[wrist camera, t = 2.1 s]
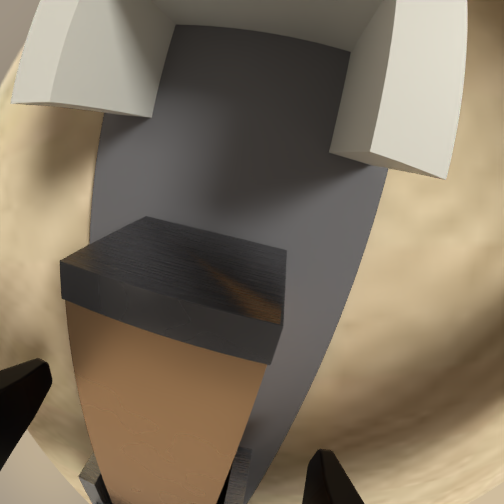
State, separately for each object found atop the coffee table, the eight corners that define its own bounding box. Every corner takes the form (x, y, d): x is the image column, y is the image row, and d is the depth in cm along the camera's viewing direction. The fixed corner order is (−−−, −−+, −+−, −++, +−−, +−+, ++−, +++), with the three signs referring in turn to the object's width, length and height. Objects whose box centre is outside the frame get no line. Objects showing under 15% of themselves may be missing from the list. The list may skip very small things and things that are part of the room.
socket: (395, 45, 6) (466, -21, 2) (371, 165, 8) (445, 180, 4) (146, 6, 7) (67, -55, 3) (117, 114, 8) (10, 103, 4)
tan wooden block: (287, 250, 8) (283, 326, 5) (211, 495, 13) (197, 549, 10) (146, 216, 9) (59, 260, 5) (143, 474, 13) (120, 525, 10)
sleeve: (252, 449, 12) (235, 545, 7) (227, 503, 14) (212, 569, 9) (119, 408, 12) (71, 489, 7) (129, 473, 14) (101, 533, 9)
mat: (408, 44, 7) (412, 41, 6) (244, 505, 14) (243, 508, 14) (140, 1, 7) (137, -3, 7) (115, 466, 15) (114, 469, 14)
